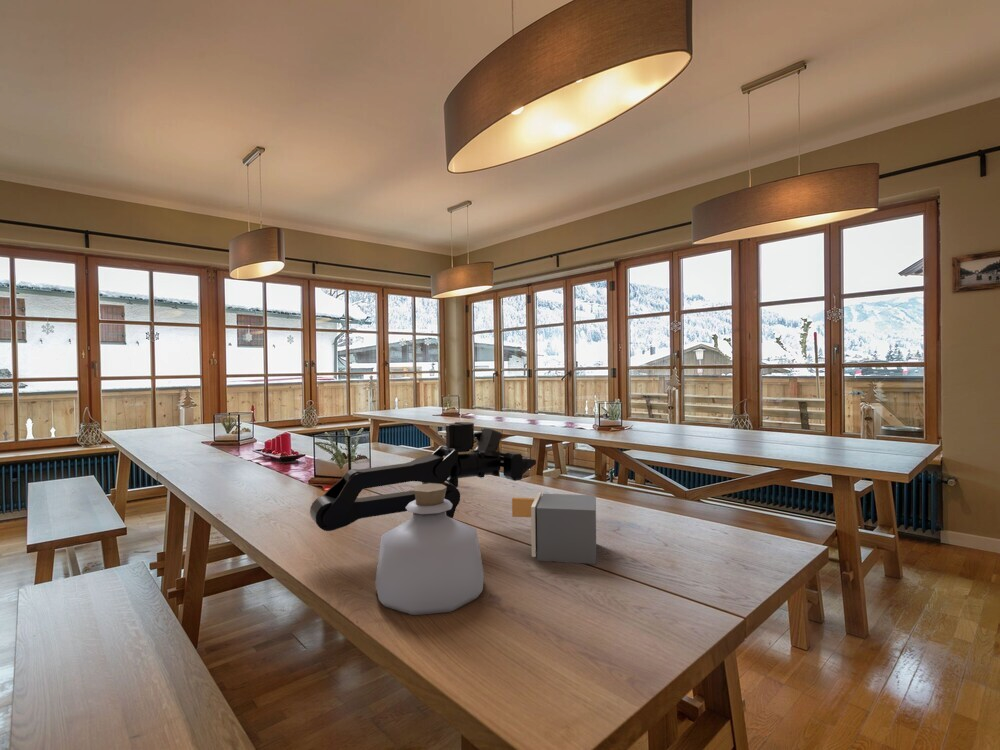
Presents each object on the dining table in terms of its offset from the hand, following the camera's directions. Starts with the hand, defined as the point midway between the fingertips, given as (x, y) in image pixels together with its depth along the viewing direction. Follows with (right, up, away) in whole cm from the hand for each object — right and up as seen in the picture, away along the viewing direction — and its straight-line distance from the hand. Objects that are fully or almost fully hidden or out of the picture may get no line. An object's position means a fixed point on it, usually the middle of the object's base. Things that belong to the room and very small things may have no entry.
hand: (525, 459), depth 129 cm
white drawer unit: (+5, -16, -20) cm, 26 cm away
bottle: (-19, -18, -38) cm, 46 cm away
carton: (+8, -17, -20) cm, 28 cm away
